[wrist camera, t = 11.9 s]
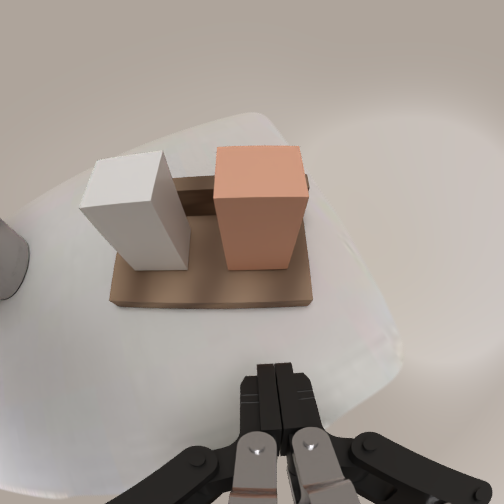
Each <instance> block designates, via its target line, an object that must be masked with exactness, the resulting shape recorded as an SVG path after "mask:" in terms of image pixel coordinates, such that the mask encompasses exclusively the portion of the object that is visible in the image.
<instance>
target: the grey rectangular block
mask: <svg viewBox="0 0 504 504" xmlns="http://www.w3.org/2000/svg"><path fill="white" fill-rule="evenodd" d="M79 209H80V210H81V211H82V213H83V214H84V215H85V216H86V217H87V218H88V220H89V221H90V222H91V223H92V224H93V225H94V227H95V228H96V229H97V230H98V231H99V232H100V233H101V235H102V236H103V237H104V238H105V239H106V240H107V241H108V242H109V243H110V245H111V246H112V247H113V248H114V249H115V250H116V251H117V252H118V253H119V254H120V255H121V256H122V257H123V258H124V259H125V261H126V262H127V263H128V264H129V265H130V266H131V267H132V268H133V269H134V270H188V258H189V246H190V234H191V228H190V226H189V223H188V220H187V218H186V215H185V212H184V210H183V207H182V204H181V201H180V199H179V196H178V193H177V190H176V187H175V185H174V182H173V179H172V176H171V173H170V170H169V167H168V164H167V161H166V159H165V156H164V153H163V150H162V151H154V152H146V153H139V154H132V155H125V156H119V157H113V158H108V159H103V160H97V162H96V164H95V166H94V169H93V171H92V174H91V176H90V179H89V181H88V184H87V186H86V189H85V192H84V195H83V197H82V200H81V203H80V206H79Z"/></svg>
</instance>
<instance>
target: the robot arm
mask: <svg viewBox="0 0 504 504" xmlns="http://www.w3.org/2000/svg"><path fill="white" fill-rule="evenodd" d="M28 259H29V250H28V245H27V243H26V241H25V240H24V239H23V238H22V237H21V236H19V235H18V234H17V233H16V232H15V231H14V230H13V229H11V228H10V227H9V226H8V225H7V224H6V223H5V222H4V221H3V220H2V219H1V218H0V299H7V298H9V297H10V296H12V295H13V294H14V293H15V292H16V290H17V289H18V288H19V286H20V284H21V282H22V280H23V278H24V275H25V273H26V269H27V265H28ZM279 451H280V456H287V464H288V465H287V474H288V479H289V483H290V487H291V492H292V496H293V501H294V504H360V502H359V499H358V496H357V494H359V495H360V496H362V497H364V498H366V499H368V500H369V501H371V502H373V503H375V504H488V503H489V502H490V500H491V497H492V488H491V486H490V484H489V483H487V482H485V481H483V480H480V479H477V478H474V477H471V476H469V475H466V474H463V473H461V472H458V471H456V470H453V469H451V468H448V467H446V466H444V465H441V464H439V463H437V462H434V461H432V460H430V459H428V458H426V457H423V456H421V455H419V454H417V453H415V452H413V451H411V450H409V449H407V448H405V447H403V446H401V445H399V444H397V443H395V442H393V441H391V440H389V439H387V438H385V437H384V436H382V435H380V434H378V433H375V432H365V433H361V434H360V435H358V436H357V437H355V439H352V438H340V437H335V436H332V435H330V434H329V433H327V432H326V431H325V430H324V428H323V426H322V424H321V420H320V416H319V412H318V408H317V404H316V401H315V398H314V393H313V389H312V385H311V382H310V380H309V378H308V377H307V376H306V375H305V374H304V373H293V369H292V364H291V362H290V363H275V364H274V365H273V364H257V376H245V378H244V380H243V381H242V383H241V385H240V434H239V437H238V439H237V440H236V441H235V442H234V443H233V444H231V445H229V446H227V447H224V448H220V449H216V450H211V449H209V448H207V447H203V446H192V447H189V448H187V449H185V450H183V451H182V452H181V453H180V454H178V455H177V456H176V457H174V458H173V459H172V460H170V461H169V462H168V463H166V464H165V465H164V466H162V467H161V468H159V469H158V470H157V471H155V472H154V473H152V474H151V475H150V476H148V477H147V478H145V479H144V480H142V481H141V482H139V483H138V484H136V485H135V486H133V487H132V488H130V489H129V490H127V491H125V492H124V493H122V494H121V495H119V496H117V497H116V498H114V499H113V500H111V501H109V502H107V503H106V504H211V503H212V502H213V501H214V500H216V499H217V498H218V497H219V496H220V495H221V494H222V493H224V492H228V491H231V492H230V496H229V503H228V504H277V488H276V484H277V483H276V482H277V474H276V473H277V456H279ZM356 493H357V494H356Z"/></svg>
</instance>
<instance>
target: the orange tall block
mask: <svg viewBox="0 0 504 504" xmlns="http://www.w3.org/2000/svg"><path fill="white" fill-rule="evenodd" d="M213 199H214V204H215V209H216V214H217V219H218V224H219V229H220V234H221V239H222V244H223V249H224V253H225V258H226V263H227V268H228V270H268V269H288V265H289V262H290V259H291V256H292V253H293V249H294V246H295V243H296V240H297V236H298V233H299V230H300V226H301V223H302V220H303V216H304V213H305V209H306V206H307V202H308V199H309V194H308V188H307V183H306V178H305V173H304V168H303V163H302V158H301V153H300V149H299V146H229V147H217V156H216V169H215V182H214V196H213Z"/></svg>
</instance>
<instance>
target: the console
mask: <svg viewBox="0 0 504 504" xmlns="http://www.w3.org/2000/svg"><path fill="white" fill-rule="evenodd" d="M305 178H306V183H307V188H308V191H309V188H310V187H309V182H308V177H307V174H305ZM172 179H173V182H174V185H175V187H176V190H177V193H178V196H179V199H180V201H181V204H182V207H183V210H184V212H185V215H186V218H187V220H188V223H189V226H190V228H191V234H190V246H189V258H188V270H134V269H133V268H132V267H131V266H130V265H129V264H128V263H127V262H126V261H125V259H124V258H123V257H122V256H121V255H120V254H119V253H118V252H117V254H116V260H115V265H114V271H113V278H112V284H111V291H110V299H109V301H111V302H112V303H114V304H115V305H117V306H121V307H143V308H184V309H229V308H270V307H293V306H308V305H309V304H310V303H311V302H312V300H313V296H312V286H311V277H310V268H309V260H308V251H307V244H306V236H305V229H304V222H303V220H302V223H301V226H300V230H299V233H298V236H297V240H296V243H295V246H294V249H293V253H292V256H291V259H290V262H289V265H288V269H268V270H228V268H227V263H226V258H225V253H224V249H223V244H222V239H221V234H220V229H219V224H218V219H217V214H216V209H215V204H214V199H213V196H214V182H215V176H198V177H183V178H172Z"/></svg>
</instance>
